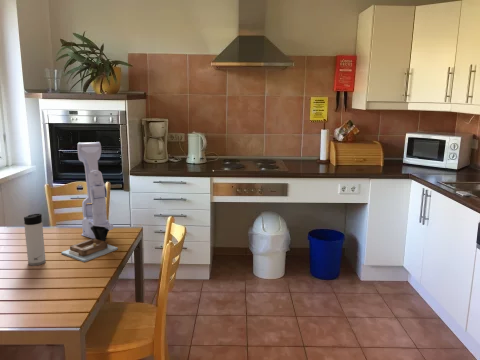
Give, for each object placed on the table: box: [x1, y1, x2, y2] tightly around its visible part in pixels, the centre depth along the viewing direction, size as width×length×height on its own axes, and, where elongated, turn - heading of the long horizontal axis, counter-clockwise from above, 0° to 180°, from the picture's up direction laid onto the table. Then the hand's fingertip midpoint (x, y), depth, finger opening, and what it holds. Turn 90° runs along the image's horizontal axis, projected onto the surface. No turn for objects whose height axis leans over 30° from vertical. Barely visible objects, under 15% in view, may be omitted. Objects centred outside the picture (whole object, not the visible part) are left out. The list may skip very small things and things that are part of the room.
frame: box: [69, 238, 109, 256], centre depth 176 cm, size 9×12×3 cm
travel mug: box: [23, 213, 47, 267], centre depth 163 cm, size 6×7×20 cm
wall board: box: [61, 244, 119, 263], centre depth 177 cm, size 15×17×2 cm
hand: (101, 242), depth 183 cm, fingers closed on frame, 2 cm apart
